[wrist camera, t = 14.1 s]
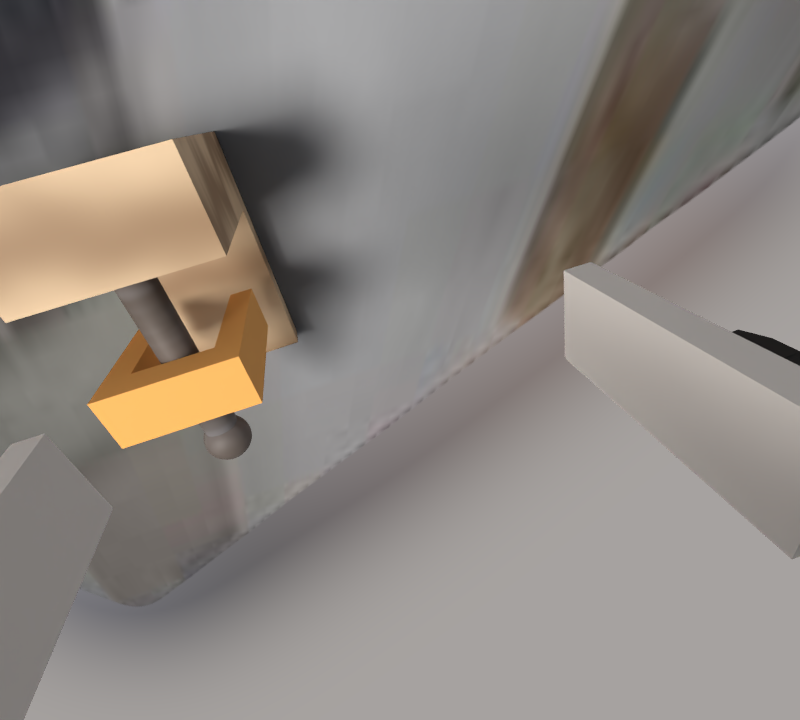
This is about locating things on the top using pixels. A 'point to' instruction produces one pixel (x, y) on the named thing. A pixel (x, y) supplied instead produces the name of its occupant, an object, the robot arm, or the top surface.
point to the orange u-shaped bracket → (186, 379)
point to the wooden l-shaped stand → (143, 252)
